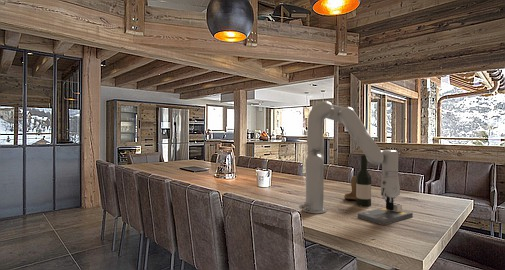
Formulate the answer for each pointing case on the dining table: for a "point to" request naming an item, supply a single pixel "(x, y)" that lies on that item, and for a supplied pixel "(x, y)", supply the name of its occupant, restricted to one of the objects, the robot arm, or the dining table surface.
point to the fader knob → (397, 207)
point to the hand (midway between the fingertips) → (389, 209)
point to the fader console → (384, 216)
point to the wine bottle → (363, 184)
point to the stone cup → (353, 194)
